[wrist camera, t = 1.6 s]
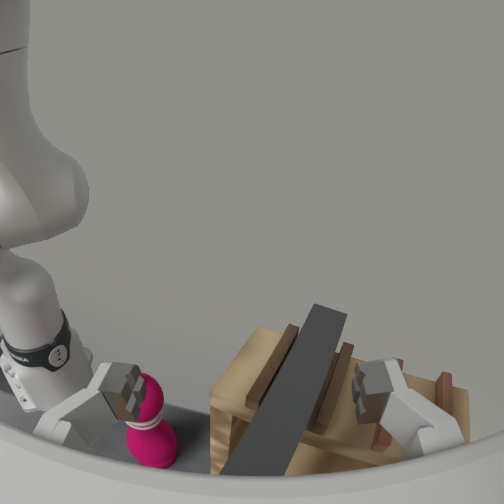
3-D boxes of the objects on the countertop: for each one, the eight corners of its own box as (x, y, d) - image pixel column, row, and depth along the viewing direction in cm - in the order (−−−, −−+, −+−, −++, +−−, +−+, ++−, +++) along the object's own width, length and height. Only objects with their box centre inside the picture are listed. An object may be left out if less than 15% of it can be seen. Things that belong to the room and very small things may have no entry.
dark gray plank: (258, 522, 14) (265, 511, 12) (210, 501, 15) (209, 487, 13) (338, 339, 29) (347, 314, 28) (307, 329, 30) (314, 303, 29)
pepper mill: (170, 429, 44) (155, 344, 34) (186, 466, 38) (174, 393, 29) (127, 438, 41) (94, 356, 31) (140, 477, 35) (104, 408, 25)
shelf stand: (211, 489, 35) (210, 379, 22) (239, 445, 43) (259, 313, 29) (355, 538, 28) (479, 460, 15) (371, 488, 36) (475, 379, 22)
